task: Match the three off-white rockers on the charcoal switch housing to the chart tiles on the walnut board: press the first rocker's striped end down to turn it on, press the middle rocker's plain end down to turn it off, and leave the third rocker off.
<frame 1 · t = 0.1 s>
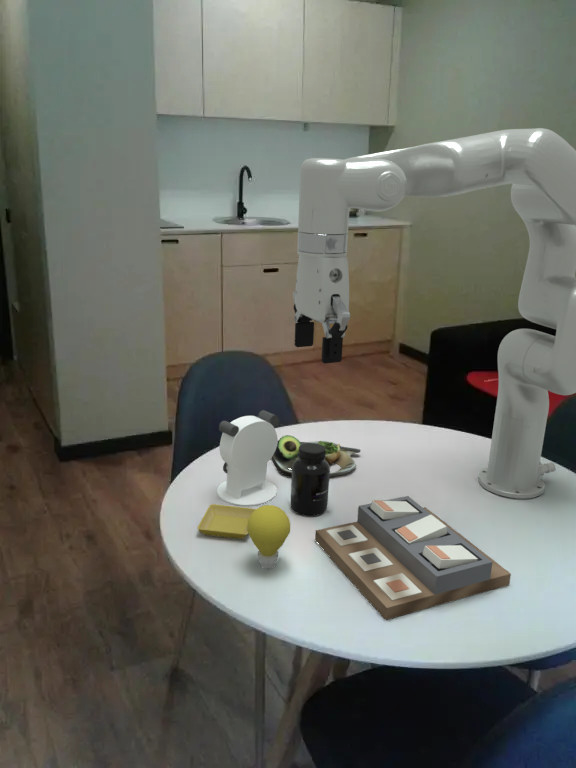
hand: (317, 353, 106), 31 cm above the table, tool pointing down, fingers open, 9 cm apart
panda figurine: (248, 492, 128), on the table
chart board: (407, 561, 107), on the table
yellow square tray: (227, 530, 116), on the table
rocker 1: (450, 556, 100), point 5 cm above the table, hinge at -12.0°
salad plate: (309, 464, 142), on the table
rocker 2: (420, 531, 106), point 5 cm above the table, hinge at 12.0°
light bulb: (267, 565, 105), on the table
switch housing: (419, 540, 107), point 4 cm above the table
supplement bottle: (308, 509, 123), on the table
rocker 3: (394, 509, 113), point 5 cm above the table, hinge at -12.0°
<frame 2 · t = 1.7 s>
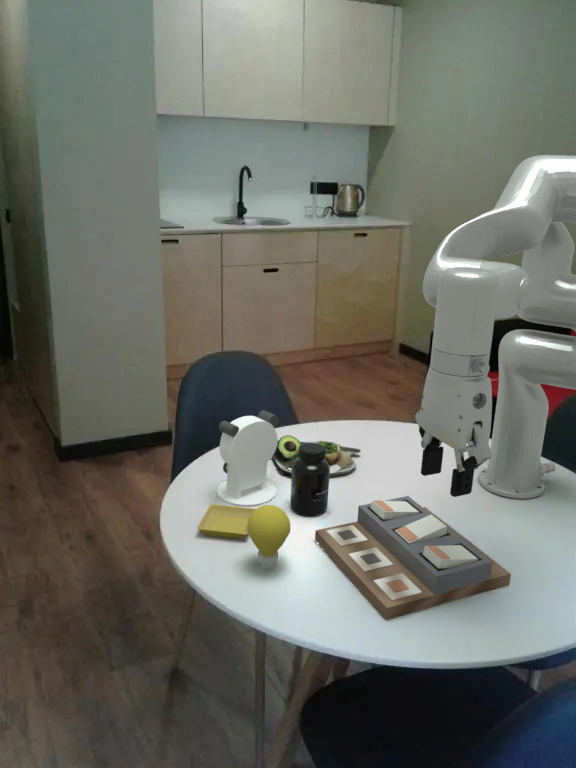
hand: (445, 482, 95), 18 cm above the table, tool pointing down, fingers open, 6 cm apart
nothing on the table moved.
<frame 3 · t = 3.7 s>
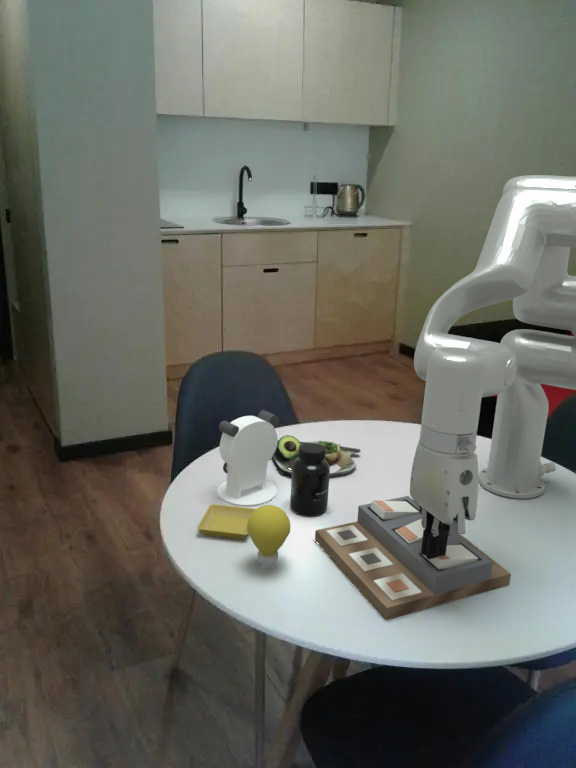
hand: (433, 554, 98), 6 cm above the table, tool pointing down, fingers closed
rocker 1: (450, 556, 100), point 5 cm above the table, hinge at -10.3°, touching gripper
everything else where it was.
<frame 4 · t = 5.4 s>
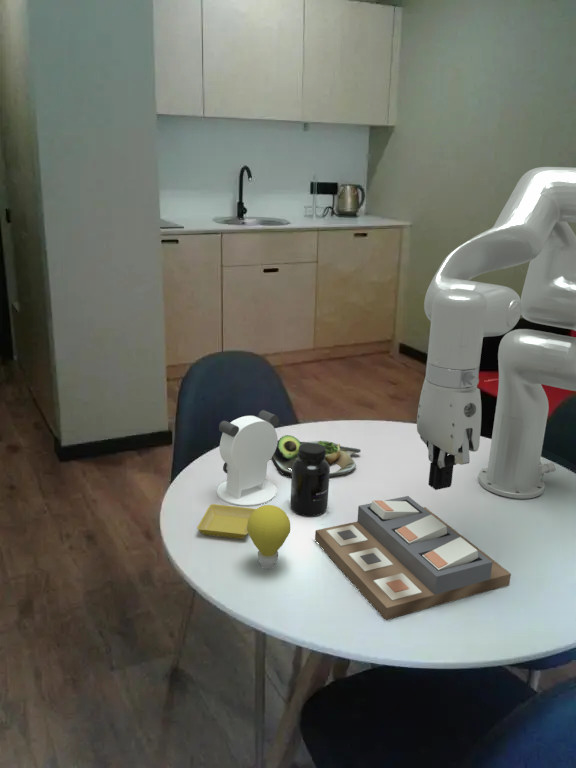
hand: (439, 486, 105), 13 cm above the table, tool pointing down, fingers closed
rocker 1: (450, 556, 100), point 5 cm above the table, hinge at 13.8°
everything else where it was.
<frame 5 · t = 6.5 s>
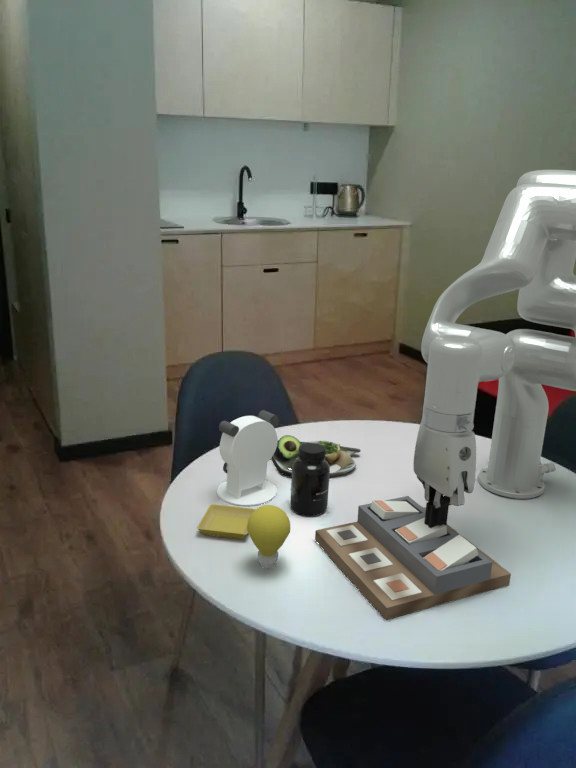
hand: (435, 525, 107), 6 cm above the table, tool pointing down, fingers closed
rocker 1: (450, 556, 100), point 5 cm above the table, hinge at 22.3°
rocker 2: (420, 531, 106), point 5 cm above the table, hinge at 11.2°, touching gripper
everything else where it was.
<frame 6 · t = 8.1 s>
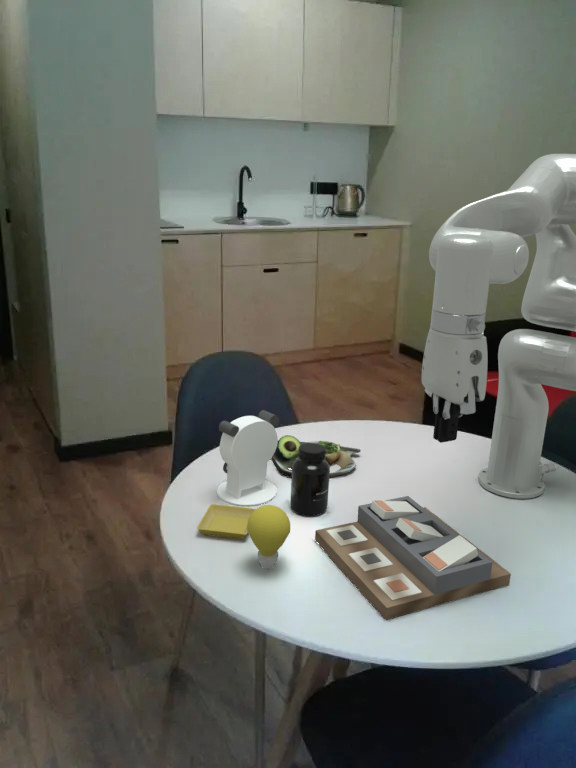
hand: (444, 439, 103), 20 cm above the table, tool pointing down, fingers closed
rocker 1: (450, 556, 100), point 5 cm above the table, hinge at 20.2°
rocker 2: (421, 531, 106), point 5 cm above the table, hinge at -24.2°, touching switch housing
everything else where it was.
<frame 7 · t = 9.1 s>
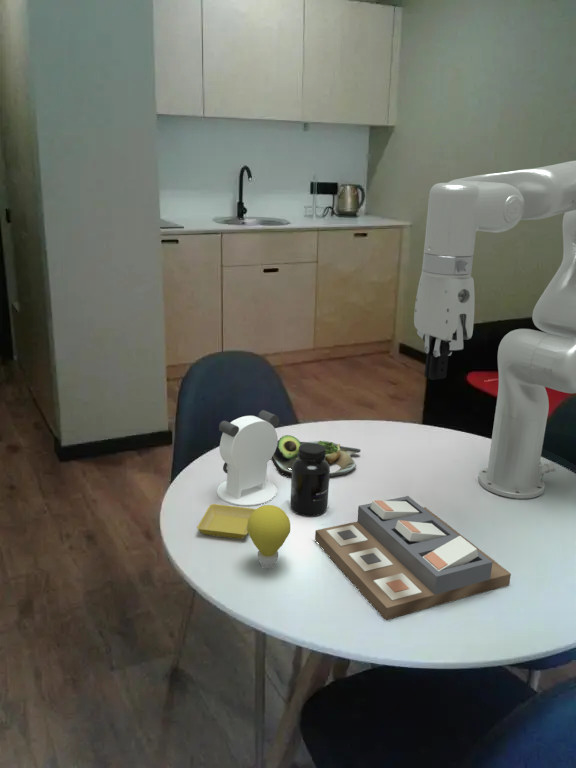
hand: (435, 377, 110), 27 cm above the table, tool pointing down, fingers closed
rocker 1: (450, 556, 100), point 5 cm above the table, hinge at 18.1°
rocker 2: (420, 531, 106), point 5 cm above the table, hinge at -16.2°
everything else where it was.
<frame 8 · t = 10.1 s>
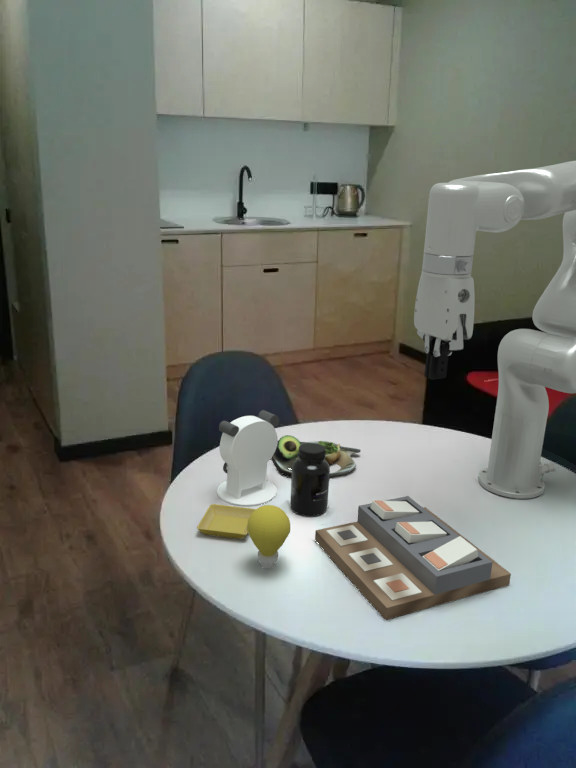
hand: (435, 377, 110), 27 cm above the table, tool pointing down, fingers closed
rocker 1: (450, 556, 100), point 5 cm above the table, hinge at 16.6°
rocker 2: (420, 531, 106), point 5 cm above the table, hinge at -10.3°
everything else where it was.
at the end: rocker 1 at +16° (first picture: -12°); rocker 2 at -10° (first picture: +12°); rocker 3 at -12° (first picture: -12°) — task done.
